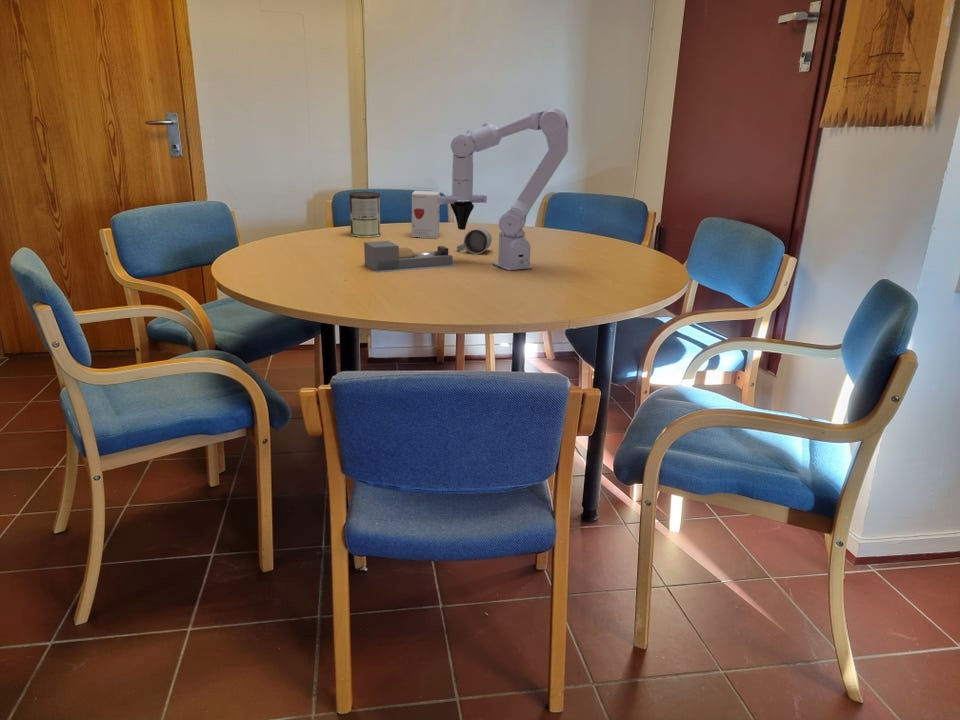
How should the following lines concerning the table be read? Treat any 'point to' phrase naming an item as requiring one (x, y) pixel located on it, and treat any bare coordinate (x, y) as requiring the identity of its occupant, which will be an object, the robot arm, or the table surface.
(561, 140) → the robot arm
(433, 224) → the supplement box
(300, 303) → the table surface
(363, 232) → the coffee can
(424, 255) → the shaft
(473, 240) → the ceramic mug
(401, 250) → the block
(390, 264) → the grey slotted fixture
